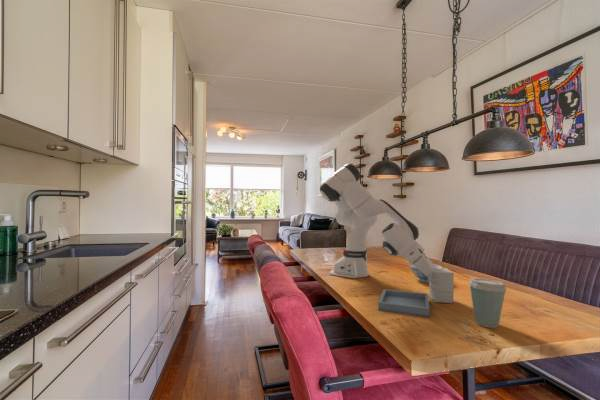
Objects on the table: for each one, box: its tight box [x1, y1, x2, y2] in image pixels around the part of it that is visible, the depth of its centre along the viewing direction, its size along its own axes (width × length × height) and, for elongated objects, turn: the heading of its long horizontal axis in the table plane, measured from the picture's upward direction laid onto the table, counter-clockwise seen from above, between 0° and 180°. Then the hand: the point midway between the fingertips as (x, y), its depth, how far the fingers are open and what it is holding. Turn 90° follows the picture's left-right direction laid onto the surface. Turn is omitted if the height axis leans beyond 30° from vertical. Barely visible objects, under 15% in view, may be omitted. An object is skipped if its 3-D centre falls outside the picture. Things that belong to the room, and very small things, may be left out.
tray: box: [378, 288, 431, 318], centre depth 113 cm, size 18×18×3 cm
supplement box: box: [428, 268, 455, 304], centre depth 119 cm, size 7×7×13 cm
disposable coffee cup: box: [468, 277, 507, 329], centre depth 95 cm, size 11×11×15 cm
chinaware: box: [410, 263, 443, 283], centre depth 148 cm, size 15×15×8 cm
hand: (439, 277), depth 119 cm, fingers closed on supplement box, 8 cm apart
